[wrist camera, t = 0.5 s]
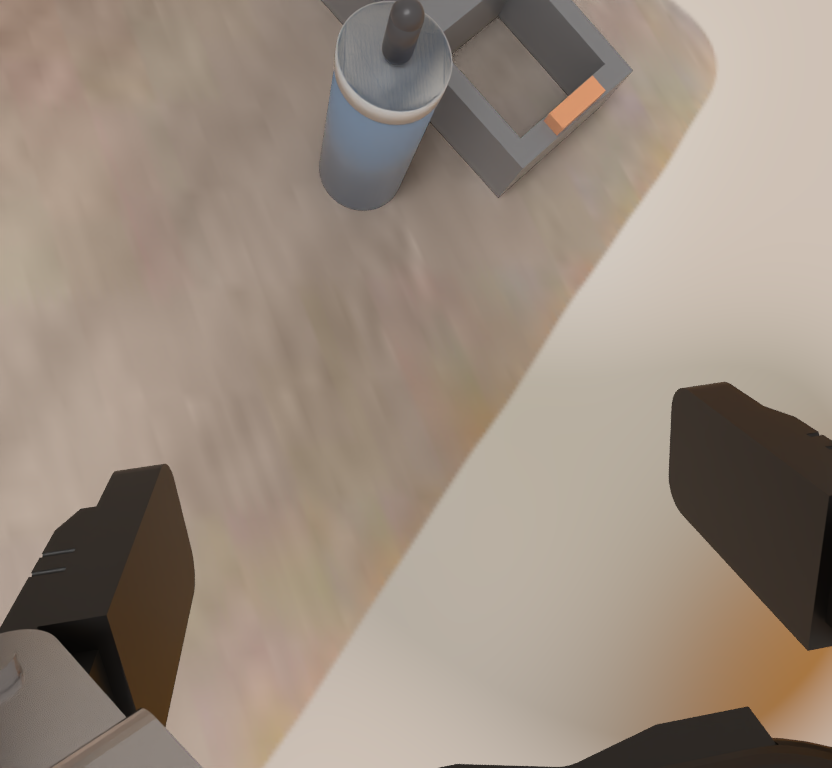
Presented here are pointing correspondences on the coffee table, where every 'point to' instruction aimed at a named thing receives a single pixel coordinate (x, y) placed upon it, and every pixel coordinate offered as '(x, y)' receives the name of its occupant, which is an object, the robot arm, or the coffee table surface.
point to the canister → (381, 100)
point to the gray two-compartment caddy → (551, 46)
